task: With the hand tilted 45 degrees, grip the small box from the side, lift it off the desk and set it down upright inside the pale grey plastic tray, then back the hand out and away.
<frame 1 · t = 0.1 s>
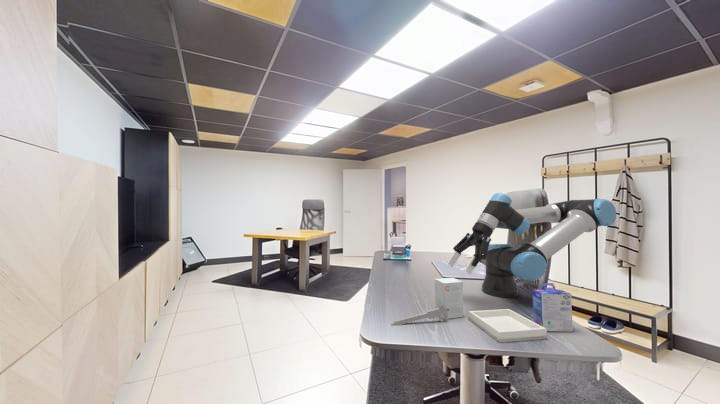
hand: (458, 268, 105), 15 cm above the table, tool tilted 35°, fingers open, 13 cm apart
small box: (448, 315, 96), on the table
ink cartridge box: (552, 328, 86), on the table
caliper: (419, 324, 89), on the table
tray: (504, 328, 85), on the table
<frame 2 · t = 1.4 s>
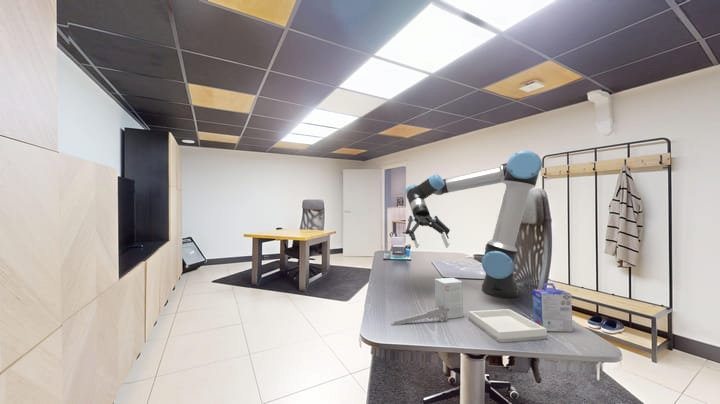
hand: (432, 245, 109), 24 cm above the table, tool tilted 45°, fingers open, 13 cm apart
nothing on the table moved.
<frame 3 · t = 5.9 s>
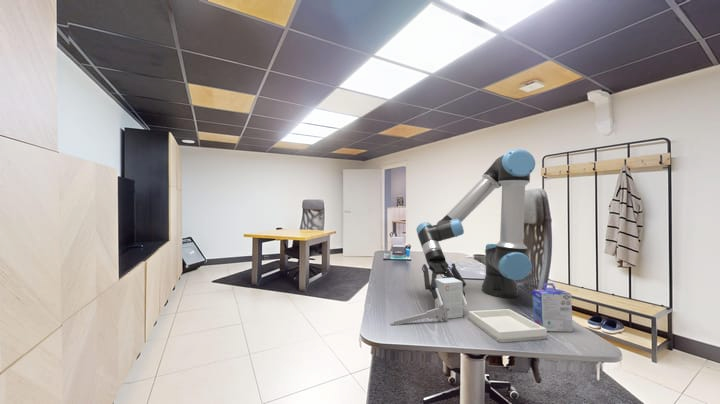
hand: (453, 305, 93), 5 cm above the table, tool tilted 45°, fingers closed on small box, 8 cm apart
small box: (448, 315, 96), on the table, touching gripper
caliper: (419, 324, 89), on the table, touching gripper
everything else where it was.
when the fingers open (7 cm above the table, at t = 11.6 s): small box drops 1 cm, resting on tray.
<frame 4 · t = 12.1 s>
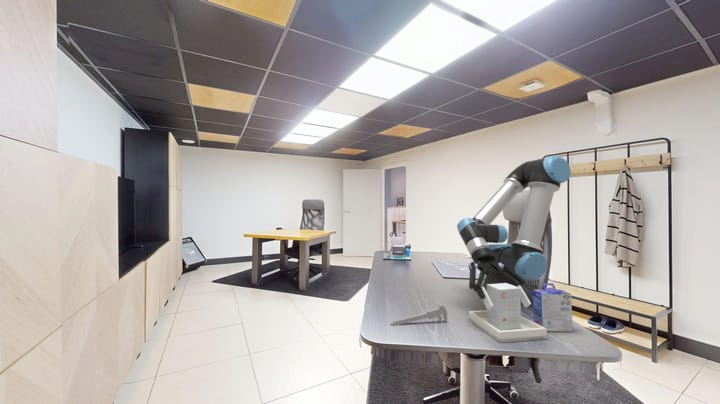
hand: (509, 306, 83), 8 cm above the table, tool tilted 45°, fingers open, 13 cm apart
small box: (503, 326, 85), point 1 cm above the table, touching tray
caliper: (418, 324, 89), on the table
everything else where it was.
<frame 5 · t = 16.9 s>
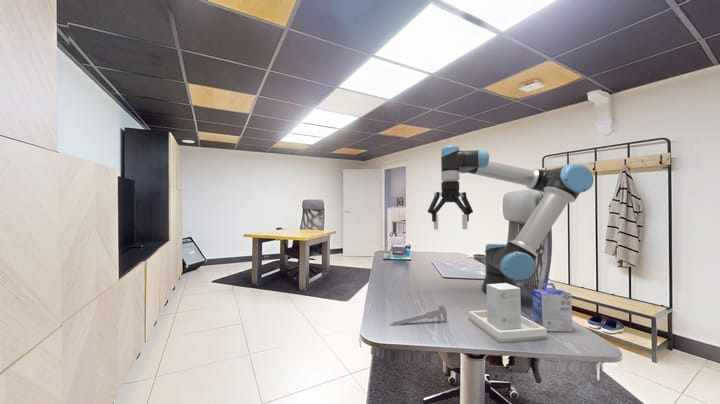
hand: (450, 229, 113), 31 cm above the table, tool pointing down, fingers open, 13 cm apart
nothing on the table moved.
at the end: small box inside the target area on the tray (0.3 cm from its centre), point 0.8 cm above the tray's base; small box tilted 0°; the gripper is holding nothing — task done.
